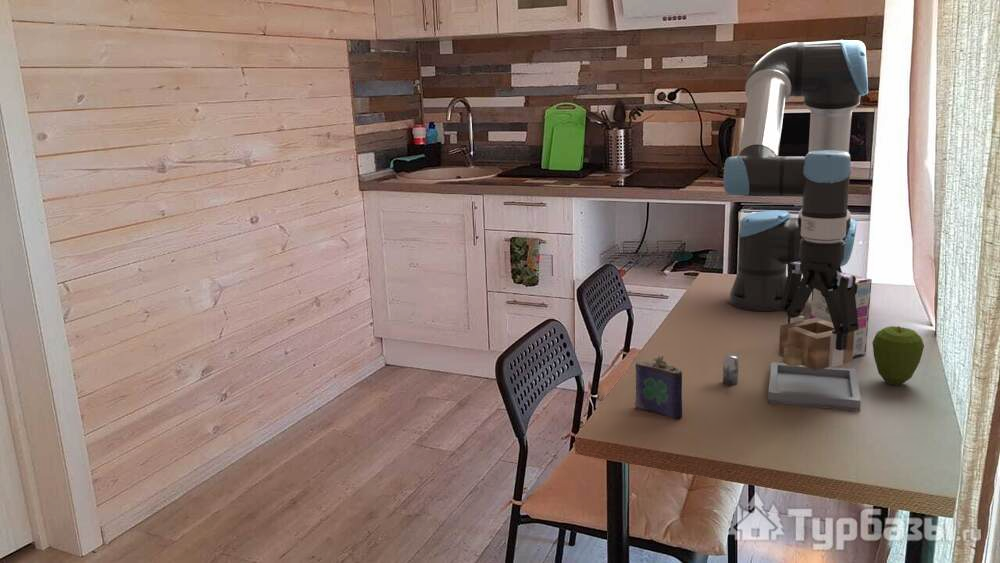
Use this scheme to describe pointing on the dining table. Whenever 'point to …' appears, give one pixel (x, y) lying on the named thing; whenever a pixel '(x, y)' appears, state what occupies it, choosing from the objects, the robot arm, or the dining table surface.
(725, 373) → the silver capsule
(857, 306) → the candy bar box
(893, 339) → the apple
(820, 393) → the tray
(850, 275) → the robot arm
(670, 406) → the flask
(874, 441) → the dining table surface
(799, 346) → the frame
